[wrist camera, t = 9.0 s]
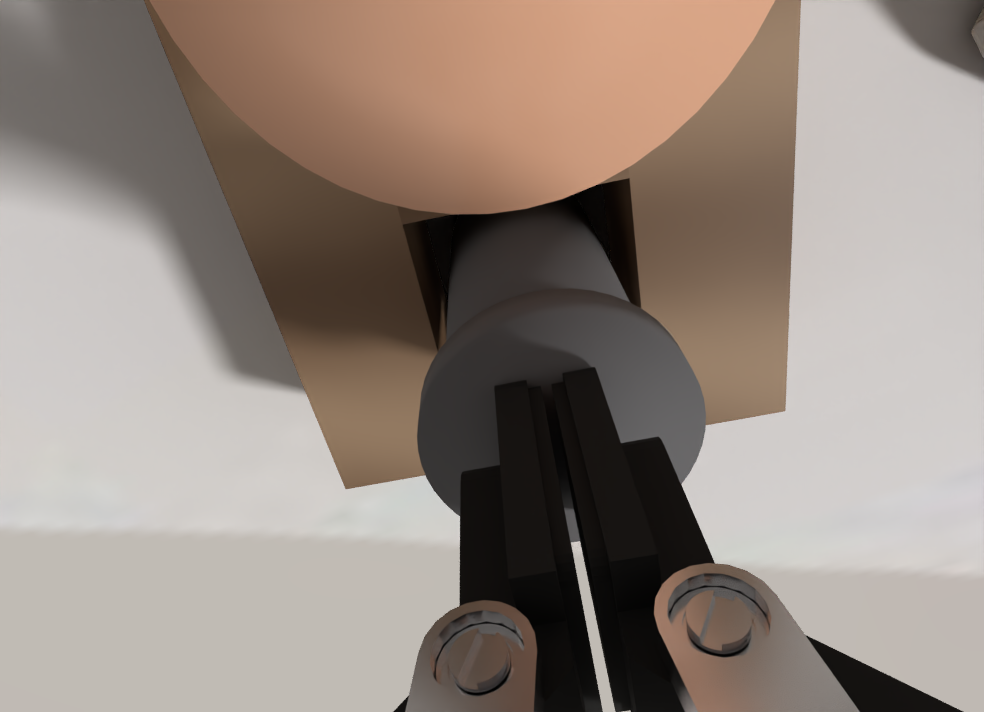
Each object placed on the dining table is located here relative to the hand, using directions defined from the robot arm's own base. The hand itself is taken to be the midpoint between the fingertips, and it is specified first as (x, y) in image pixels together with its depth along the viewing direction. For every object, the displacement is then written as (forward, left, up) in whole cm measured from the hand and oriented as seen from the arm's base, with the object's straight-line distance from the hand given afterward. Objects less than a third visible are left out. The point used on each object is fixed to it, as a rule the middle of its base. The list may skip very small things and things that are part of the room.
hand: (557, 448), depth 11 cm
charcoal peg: (0, 0, -9) cm, 9 cm away
